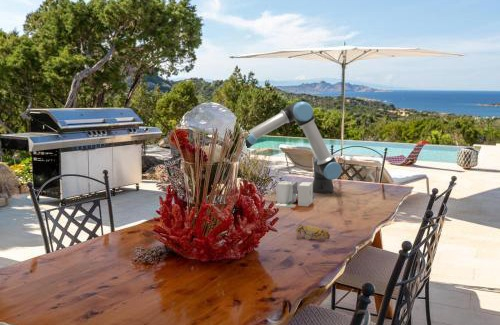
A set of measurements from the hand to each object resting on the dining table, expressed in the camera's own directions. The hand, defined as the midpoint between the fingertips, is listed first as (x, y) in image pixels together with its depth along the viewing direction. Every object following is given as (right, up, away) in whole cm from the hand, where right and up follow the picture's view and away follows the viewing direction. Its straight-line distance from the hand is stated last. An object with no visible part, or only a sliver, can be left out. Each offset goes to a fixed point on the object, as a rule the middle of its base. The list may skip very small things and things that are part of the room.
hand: (271, 193), depth 281 cm
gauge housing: (+13, -6, -7) cm, 16 cm away
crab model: (+15, -15, -73) cm, 76 cm away
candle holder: (+7, -6, -2) cm, 9 cm away
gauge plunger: (+16, -6, -8) cm, 18 cm away
